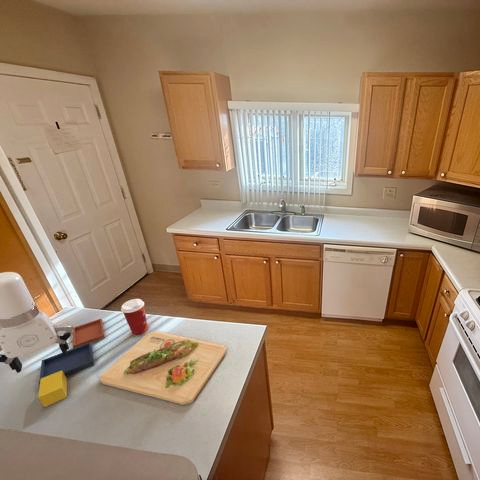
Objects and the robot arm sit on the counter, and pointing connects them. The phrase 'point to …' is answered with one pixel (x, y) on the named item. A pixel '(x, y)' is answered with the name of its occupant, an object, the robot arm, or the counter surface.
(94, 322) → the sponge dish
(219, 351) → the cutting board
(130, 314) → the paper cup
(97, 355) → the counter surface
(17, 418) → the counter surface
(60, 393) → the sponge
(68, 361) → the baking tray
